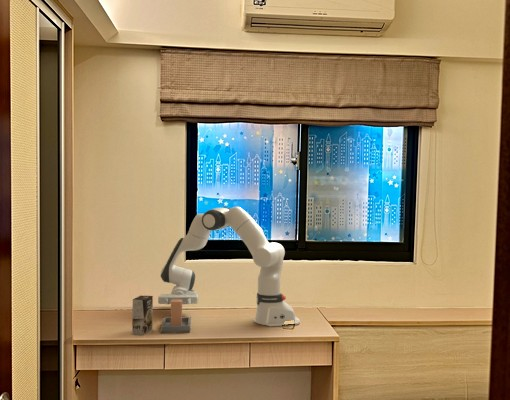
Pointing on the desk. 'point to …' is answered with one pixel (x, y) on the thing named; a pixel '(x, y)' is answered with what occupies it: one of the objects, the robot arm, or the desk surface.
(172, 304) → the block
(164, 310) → the desk surface
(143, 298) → the coffee box
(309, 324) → the desk surface
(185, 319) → the tray
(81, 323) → the desk surface
